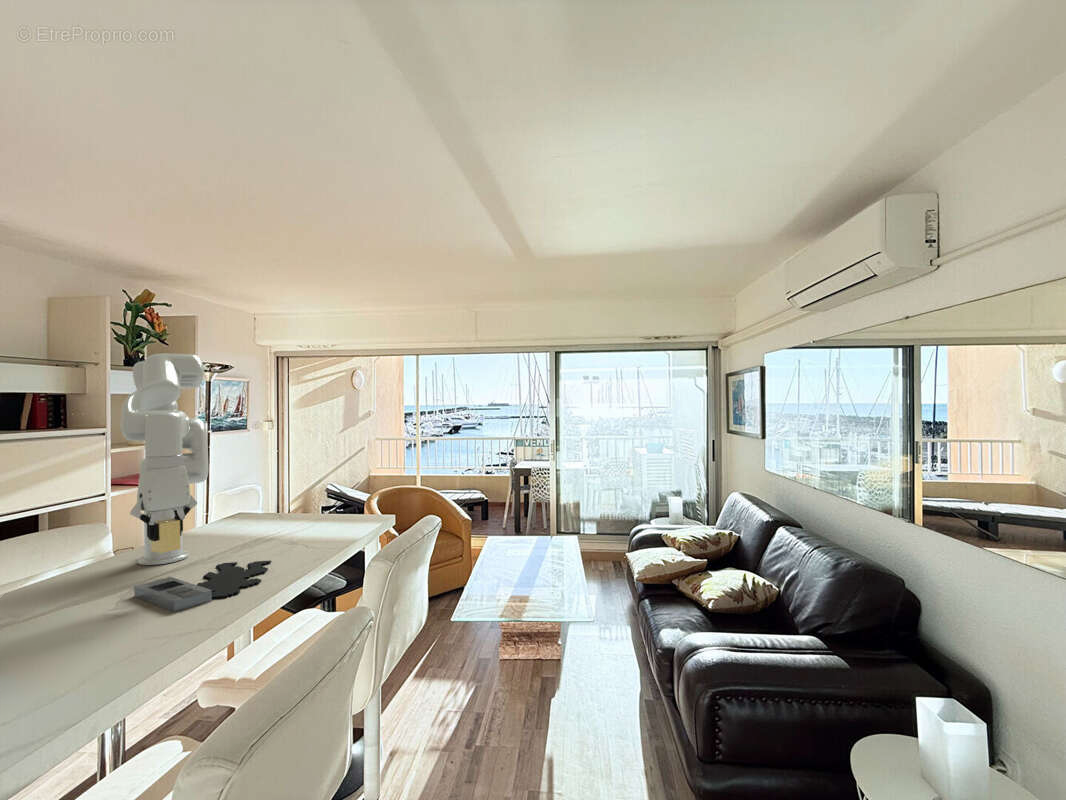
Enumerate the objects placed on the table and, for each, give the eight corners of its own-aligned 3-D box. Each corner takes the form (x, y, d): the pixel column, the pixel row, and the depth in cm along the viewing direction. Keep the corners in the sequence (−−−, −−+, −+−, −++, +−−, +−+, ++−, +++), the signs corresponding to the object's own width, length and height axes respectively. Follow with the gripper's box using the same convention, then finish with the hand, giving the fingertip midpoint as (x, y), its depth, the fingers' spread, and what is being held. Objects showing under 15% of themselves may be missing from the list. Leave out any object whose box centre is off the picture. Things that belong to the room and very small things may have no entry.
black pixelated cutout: (219, 566, 156) (173, 603, 127) (219, 563, 156) (173, 599, 127) (279, 562, 159) (248, 597, 130) (278, 558, 159) (248, 593, 130)
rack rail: (134, 596, 131) (134, 585, 131) (170, 586, 138) (170, 576, 138) (175, 612, 121) (174, 600, 121) (212, 600, 127) (212, 589, 127)
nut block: (151, 550, 131) (150, 521, 131) (171, 546, 135) (170, 518, 134) (159, 553, 128) (159, 523, 128) (180, 548, 132) (179, 520, 132)
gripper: (193, 458, 140) (194, 528, 141) (116, 466, 126) (117, 544, 126) (208, 460, 136) (209, 532, 137) (130, 468, 122) (132, 548, 122)
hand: (165, 537), depth 131 cm, fingers closed on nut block, 4 cm apart
